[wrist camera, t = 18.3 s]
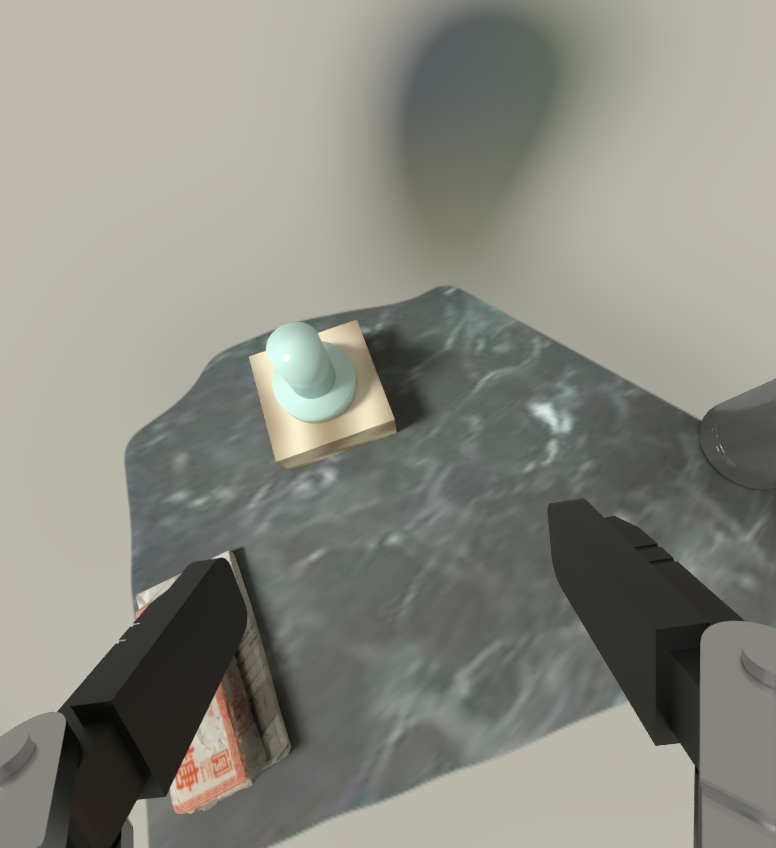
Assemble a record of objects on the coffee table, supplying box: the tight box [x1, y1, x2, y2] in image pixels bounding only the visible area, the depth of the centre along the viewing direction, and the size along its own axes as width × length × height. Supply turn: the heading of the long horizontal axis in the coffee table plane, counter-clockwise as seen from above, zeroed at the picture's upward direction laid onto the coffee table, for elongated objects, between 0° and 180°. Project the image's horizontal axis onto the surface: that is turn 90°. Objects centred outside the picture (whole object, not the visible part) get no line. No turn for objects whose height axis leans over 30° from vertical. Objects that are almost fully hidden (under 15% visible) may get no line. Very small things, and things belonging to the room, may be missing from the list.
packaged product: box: [135, 551, 291, 814], centre depth 32 cm, size 18×5×10 cm
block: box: [249, 320, 397, 471], centre depth 39 cm, size 12×12×5 cm
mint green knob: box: [266, 322, 357, 424], centre depth 33 cm, size 8×8×8 cm
